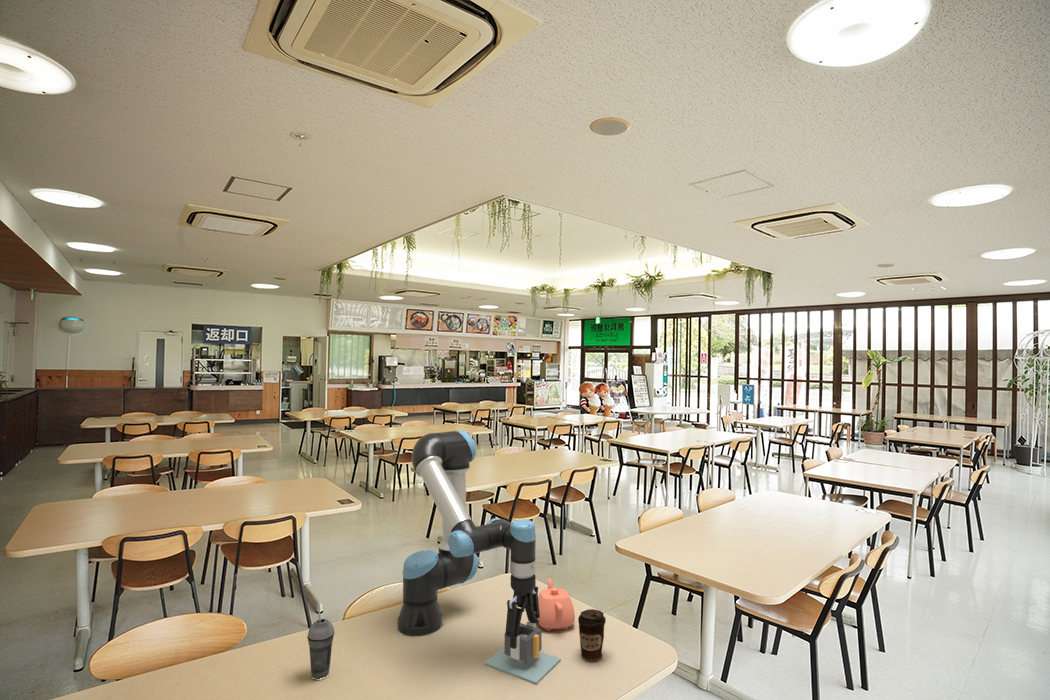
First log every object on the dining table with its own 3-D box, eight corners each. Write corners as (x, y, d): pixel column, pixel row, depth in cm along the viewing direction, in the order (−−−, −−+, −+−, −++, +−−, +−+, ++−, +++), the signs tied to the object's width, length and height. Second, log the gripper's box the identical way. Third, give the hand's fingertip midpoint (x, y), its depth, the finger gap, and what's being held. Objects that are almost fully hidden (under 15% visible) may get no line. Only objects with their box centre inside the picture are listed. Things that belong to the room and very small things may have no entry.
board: (484, 664, 154) (484, 638, 155) (511, 643, 166) (511, 619, 166) (536, 684, 145) (536, 656, 145) (560, 660, 156) (560, 635, 157)
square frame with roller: (504, 654, 154) (504, 633, 154) (519, 642, 161) (519, 622, 161) (530, 663, 149) (530, 642, 149) (544, 651, 156) (544, 630, 156)
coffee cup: (605, 666, 153) (604, 621, 154) (576, 663, 155) (576, 619, 155) (606, 650, 162) (606, 608, 162) (579, 648, 163) (579, 606, 164)
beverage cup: (317, 686, 144) (318, 612, 144) (301, 678, 147) (302, 606, 148) (339, 673, 150) (340, 602, 150) (323, 665, 154) (324, 596, 154)
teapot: (566, 608, 190) (566, 575, 191) (580, 636, 170) (580, 599, 171) (530, 611, 188) (530, 577, 189) (540, 639, 168) (540, 601, 169)
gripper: (514, 589, 145) (514, 672, 144) (551, 565, 163) (551, 639, 162) (492, 583, 149) (492, 664, 149) (530, 560, 167) (531, 633, 166)
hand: (523, 651), depth 155 cm, fingers closed on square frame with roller, 8 cm apart
